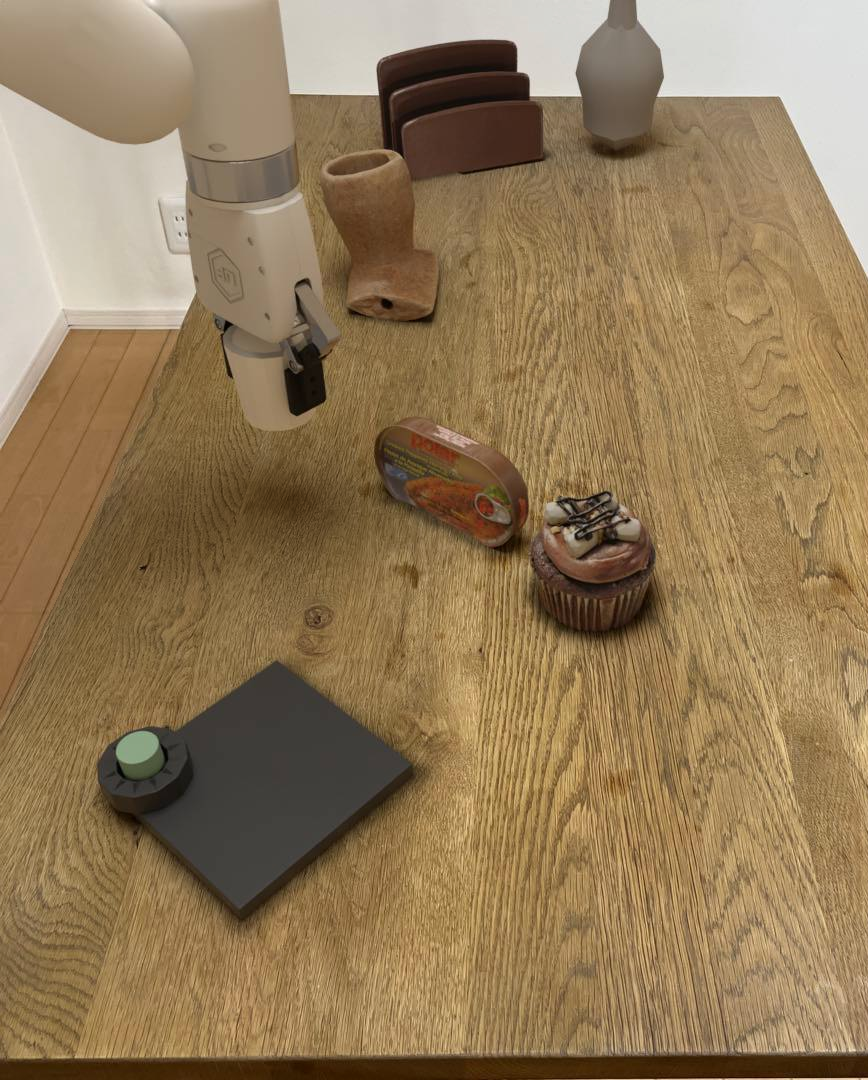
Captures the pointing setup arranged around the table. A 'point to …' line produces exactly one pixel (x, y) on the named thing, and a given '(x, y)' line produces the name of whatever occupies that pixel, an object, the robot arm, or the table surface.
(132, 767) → the button
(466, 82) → the letter holder
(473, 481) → the tin
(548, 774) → the table surface
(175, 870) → the table surface
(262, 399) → the white cup
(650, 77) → the bottle
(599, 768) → the table surface
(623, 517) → the cupcake
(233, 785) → the scale
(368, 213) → the clay boot vessel
